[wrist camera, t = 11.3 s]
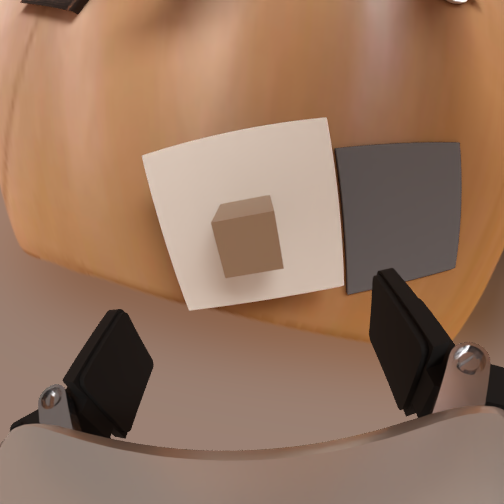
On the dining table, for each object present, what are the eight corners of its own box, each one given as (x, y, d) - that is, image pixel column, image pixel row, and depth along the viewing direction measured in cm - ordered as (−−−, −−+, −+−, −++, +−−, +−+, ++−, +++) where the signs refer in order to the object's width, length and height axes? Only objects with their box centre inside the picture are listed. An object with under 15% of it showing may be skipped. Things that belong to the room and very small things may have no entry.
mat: (457, 142, 24) (459, 142, 23) (453, 266, 30) (455, 267, 30) (334, 148, 25) (335, 148, 25) (346, 292, 32) (347, 294, 31)
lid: (323, 118, 20) (347, 111, 14) (341, 280, 25) (360, 317, 20) (146, 154, 21) (113, 161, 15) (190, 304, 27) (177, 344, 21)
